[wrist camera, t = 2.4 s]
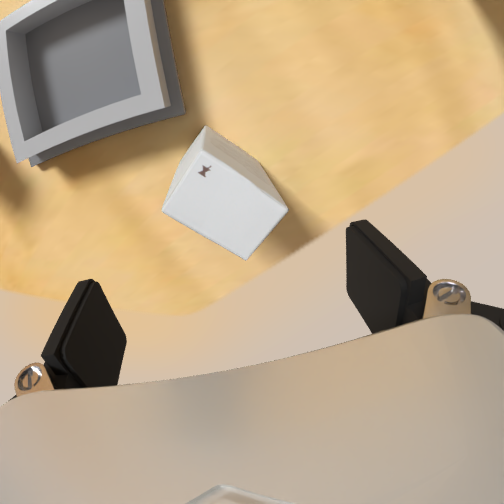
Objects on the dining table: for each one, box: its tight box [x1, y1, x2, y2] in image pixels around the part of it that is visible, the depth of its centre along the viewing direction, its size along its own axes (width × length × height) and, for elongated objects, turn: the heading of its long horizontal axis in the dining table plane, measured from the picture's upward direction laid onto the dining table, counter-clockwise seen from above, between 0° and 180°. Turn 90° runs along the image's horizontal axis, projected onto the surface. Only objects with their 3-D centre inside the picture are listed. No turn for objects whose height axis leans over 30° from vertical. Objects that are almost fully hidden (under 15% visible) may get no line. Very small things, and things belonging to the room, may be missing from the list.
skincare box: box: [162, 126, 289, 260], centre depth 22 cm, size 6×4×12 cm
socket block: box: [0, 0, 186, 167], centre depth 18 cm, size 16×16×4 cm
